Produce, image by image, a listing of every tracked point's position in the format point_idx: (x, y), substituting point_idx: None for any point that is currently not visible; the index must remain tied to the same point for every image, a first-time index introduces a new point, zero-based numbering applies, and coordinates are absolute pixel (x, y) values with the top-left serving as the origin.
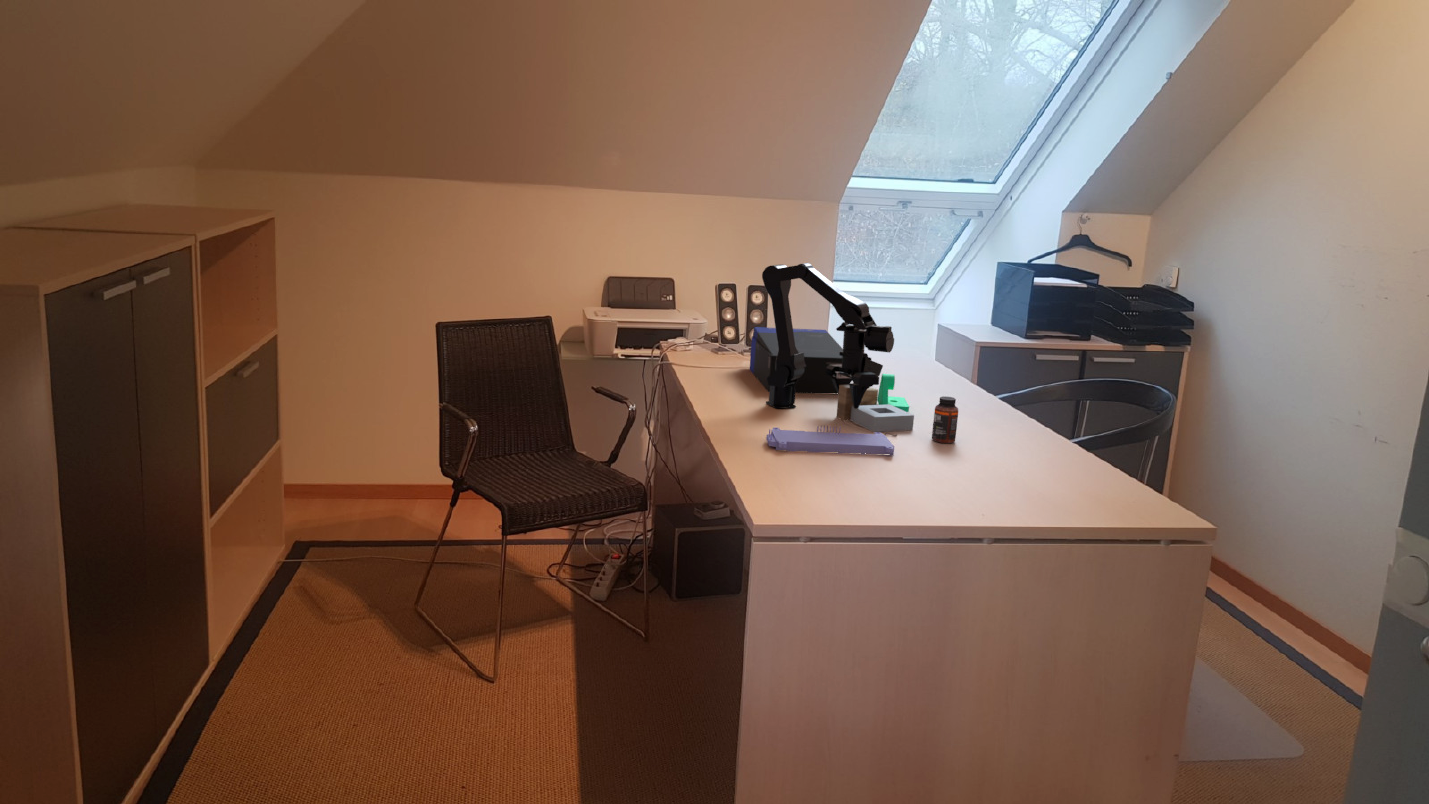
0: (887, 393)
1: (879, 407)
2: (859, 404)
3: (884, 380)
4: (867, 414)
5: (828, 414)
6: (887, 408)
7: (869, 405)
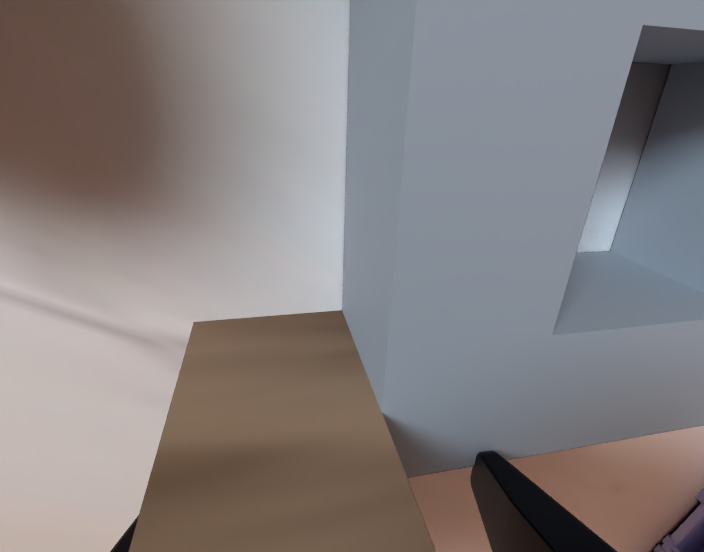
0: None
1: (576, 141)
2: (536, 488)
3: None
4: (673, 422)
5: (112, 468)
6: (686, 18)
7: (412, 245)
